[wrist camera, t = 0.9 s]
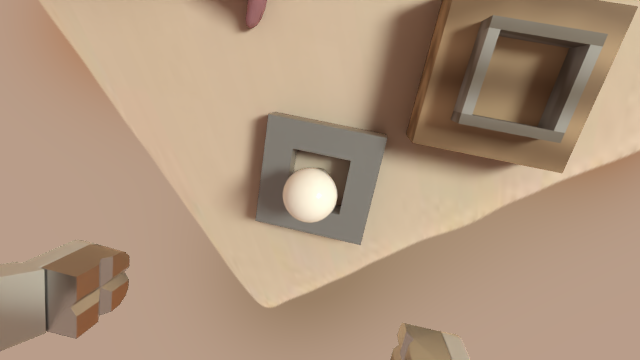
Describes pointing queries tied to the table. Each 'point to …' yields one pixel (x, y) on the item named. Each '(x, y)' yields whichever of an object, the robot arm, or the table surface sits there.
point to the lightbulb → (310, 195)
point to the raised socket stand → (516, 77)
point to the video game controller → (255, 12)
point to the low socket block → (325, 140)
